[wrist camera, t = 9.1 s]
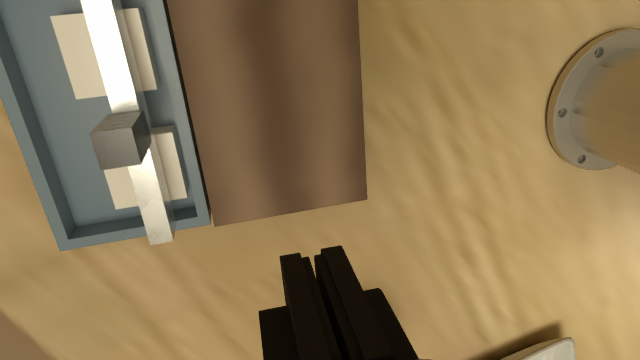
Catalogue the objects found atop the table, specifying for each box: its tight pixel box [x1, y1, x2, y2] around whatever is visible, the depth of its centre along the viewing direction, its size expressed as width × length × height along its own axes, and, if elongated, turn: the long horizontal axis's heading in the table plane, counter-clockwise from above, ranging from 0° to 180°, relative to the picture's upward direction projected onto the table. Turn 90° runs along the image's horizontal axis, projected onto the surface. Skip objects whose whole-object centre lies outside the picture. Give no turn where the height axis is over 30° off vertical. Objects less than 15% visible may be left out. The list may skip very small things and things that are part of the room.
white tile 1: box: [50, 8, 161, 99], centre depth 28 cm, size 5×5×2 cm
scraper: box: [80, 0, 176, 245], centre depth 25 cm, size 2×16×7 cm, turn 4°
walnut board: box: [167, 0, 367, 227], centre depth 31 cm, size 12×18×3 cm, turn 4°
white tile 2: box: [104, 125, 189, 209], centre depth 31 cm, size 5×5×2 cm
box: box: [0, 0, 211, 251], centre depth 30 cm, size 11×18×2 cm, turn 4°
